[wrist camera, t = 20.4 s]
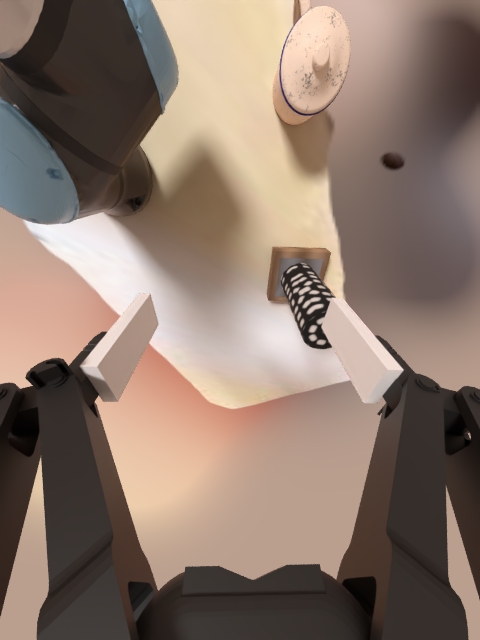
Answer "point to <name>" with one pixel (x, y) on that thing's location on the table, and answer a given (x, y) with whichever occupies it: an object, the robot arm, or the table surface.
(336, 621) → the robot arm
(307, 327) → the white-spotted black cylinder
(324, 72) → the teacup with lid
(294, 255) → the plinth
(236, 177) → the table surface
